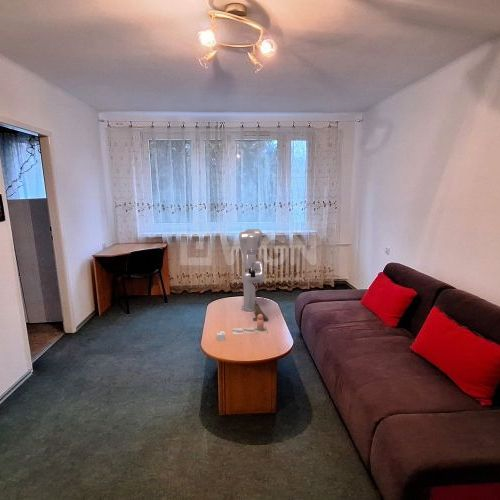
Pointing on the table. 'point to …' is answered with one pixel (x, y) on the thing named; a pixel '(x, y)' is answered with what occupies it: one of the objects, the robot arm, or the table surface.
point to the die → (221, 336)
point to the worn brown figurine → (259, 311)
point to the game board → (247, 330)
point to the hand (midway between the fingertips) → (251, 275)
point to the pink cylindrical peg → (260, 322)
